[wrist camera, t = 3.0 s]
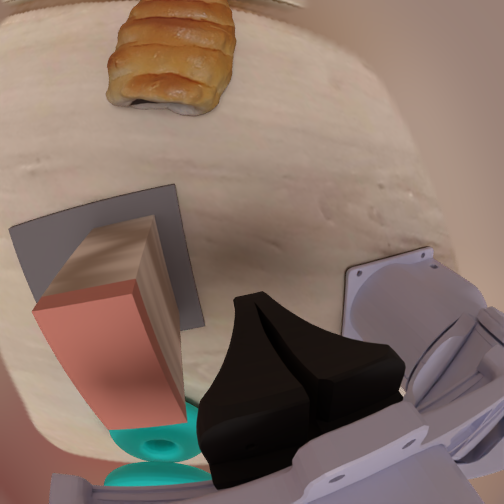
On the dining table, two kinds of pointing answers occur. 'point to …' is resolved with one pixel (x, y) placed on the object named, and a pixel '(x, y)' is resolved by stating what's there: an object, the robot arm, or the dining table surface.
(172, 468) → the donuts
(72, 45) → the dining table surface
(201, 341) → the dining table surface
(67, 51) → the dining table surface
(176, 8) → the pastry
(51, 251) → the mat
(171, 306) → the block
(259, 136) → the dining table surface
